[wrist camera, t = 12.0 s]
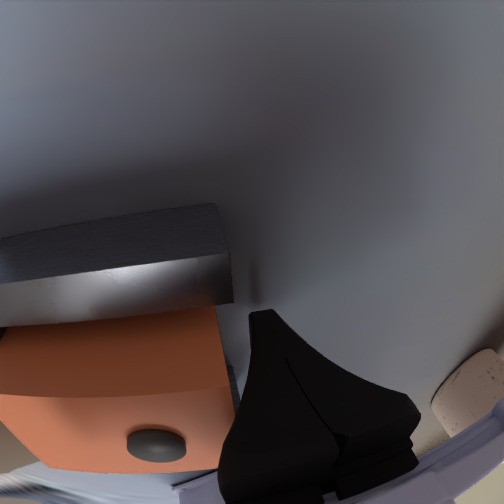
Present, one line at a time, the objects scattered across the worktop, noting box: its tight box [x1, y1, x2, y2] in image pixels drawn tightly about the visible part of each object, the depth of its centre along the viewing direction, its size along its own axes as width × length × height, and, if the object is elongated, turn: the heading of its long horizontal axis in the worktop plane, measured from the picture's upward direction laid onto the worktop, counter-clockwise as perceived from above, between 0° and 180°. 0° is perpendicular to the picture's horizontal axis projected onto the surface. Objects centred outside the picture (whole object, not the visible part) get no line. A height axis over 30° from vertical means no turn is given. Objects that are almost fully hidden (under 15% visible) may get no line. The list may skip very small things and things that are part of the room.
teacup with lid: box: [431, 349, 504, 464], centre depth 19 cm, size 12×9×12 cm
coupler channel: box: [0, 203, 241, 416], centre depth 11 cm, size 10×10×4 cm
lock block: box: [0, 305, 235, 474], centre depth 10 cm, size 8×5×6 cm, turn 93°
